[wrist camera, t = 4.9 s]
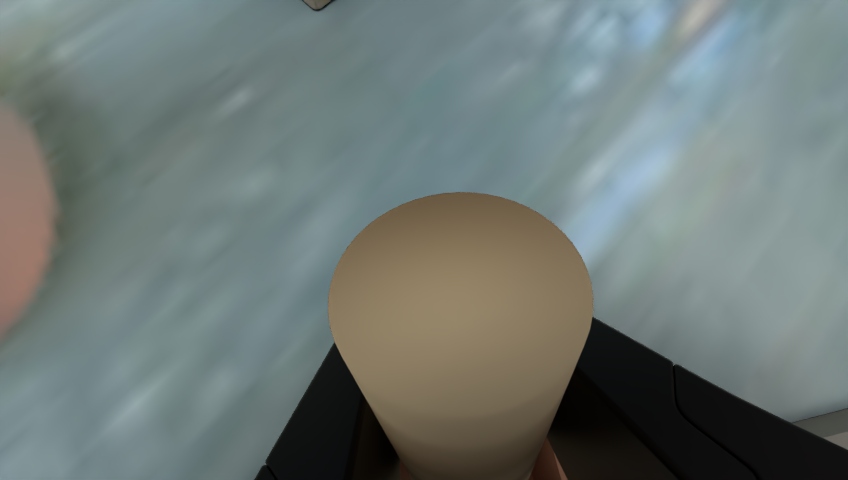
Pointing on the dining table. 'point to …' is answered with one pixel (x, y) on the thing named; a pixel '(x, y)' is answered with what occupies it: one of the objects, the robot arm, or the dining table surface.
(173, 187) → the dining table surface
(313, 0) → the coffee box
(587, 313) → the wooden dowel
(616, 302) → the dining table surface
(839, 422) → the charcoal frame
